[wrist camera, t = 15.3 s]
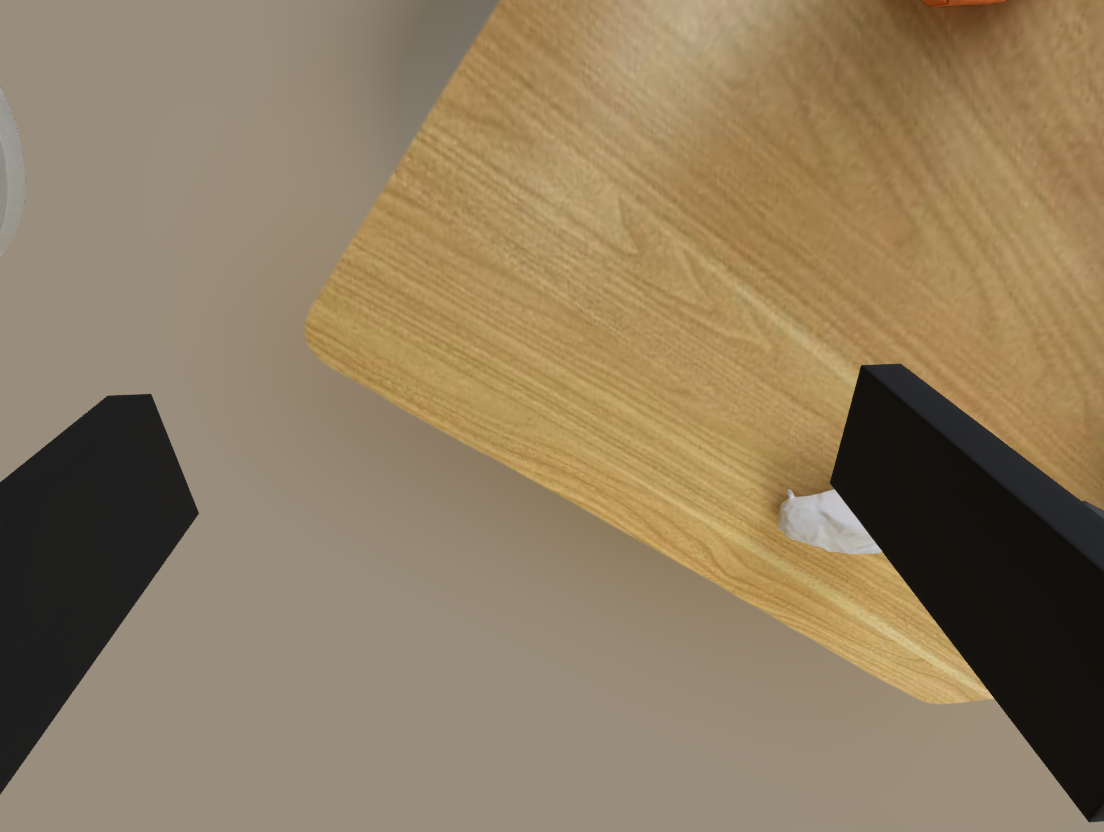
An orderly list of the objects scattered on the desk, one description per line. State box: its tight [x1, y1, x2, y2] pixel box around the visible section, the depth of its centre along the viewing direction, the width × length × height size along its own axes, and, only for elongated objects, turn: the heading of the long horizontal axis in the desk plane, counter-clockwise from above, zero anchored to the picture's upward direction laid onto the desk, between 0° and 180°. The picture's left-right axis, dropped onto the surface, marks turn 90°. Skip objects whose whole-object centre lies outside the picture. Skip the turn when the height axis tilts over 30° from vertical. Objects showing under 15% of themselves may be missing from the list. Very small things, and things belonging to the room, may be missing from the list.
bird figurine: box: [777, 489, 882, 554], centre depth 48 cm, size 5×7×10 cm
